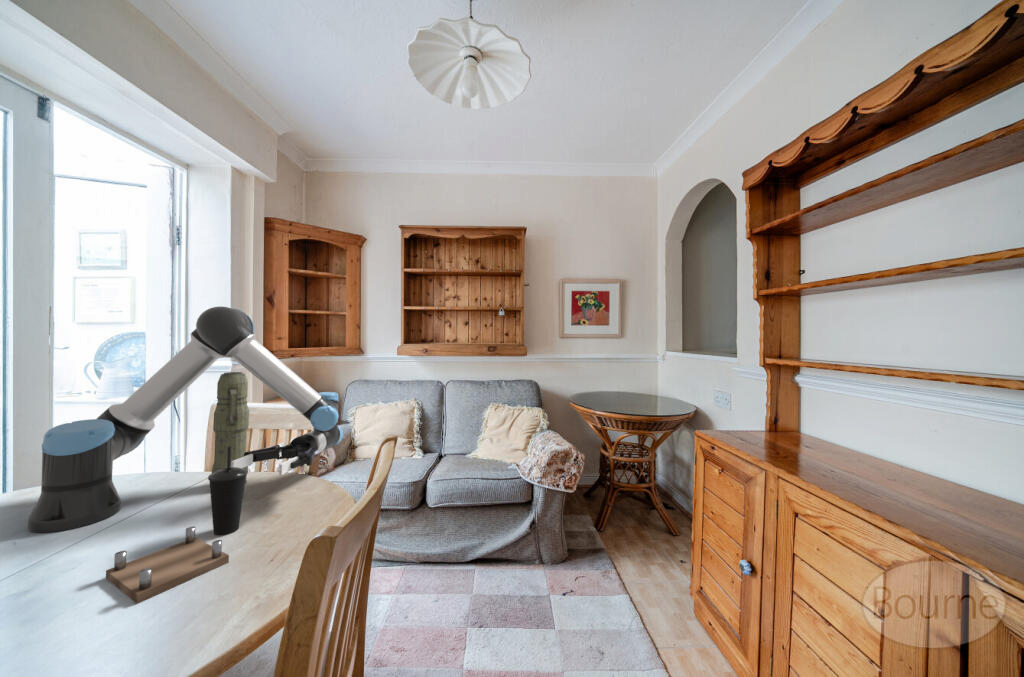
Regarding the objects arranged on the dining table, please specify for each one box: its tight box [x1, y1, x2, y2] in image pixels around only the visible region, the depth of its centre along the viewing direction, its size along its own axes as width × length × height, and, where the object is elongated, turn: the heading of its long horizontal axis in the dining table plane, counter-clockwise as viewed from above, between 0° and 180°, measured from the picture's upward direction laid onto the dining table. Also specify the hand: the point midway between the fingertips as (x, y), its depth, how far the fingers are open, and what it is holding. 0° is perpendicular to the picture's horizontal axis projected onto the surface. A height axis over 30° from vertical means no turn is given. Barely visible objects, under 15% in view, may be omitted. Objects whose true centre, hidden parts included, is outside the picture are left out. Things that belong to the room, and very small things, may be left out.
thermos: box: [211, 371, 250, 484], centre depth 117 cm, size 9×12×35 cm
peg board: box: [105, 525, 230, 605], centre depth 74 cm, size 14×14×4 cm
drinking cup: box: [207, 447, 249, 537], centre depth 90 cm, size 8×8×20 cm
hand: (256, 468), depth 98 cm, fingers open, 13 cm apart
